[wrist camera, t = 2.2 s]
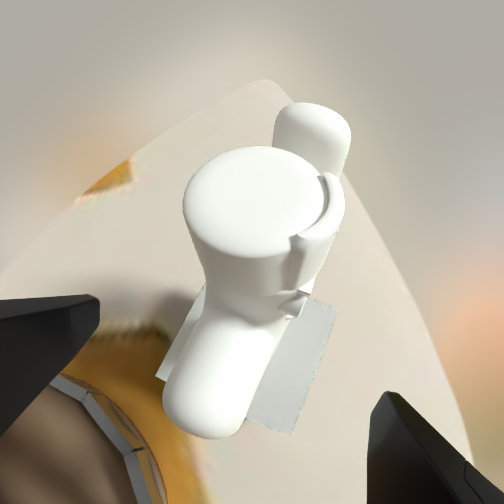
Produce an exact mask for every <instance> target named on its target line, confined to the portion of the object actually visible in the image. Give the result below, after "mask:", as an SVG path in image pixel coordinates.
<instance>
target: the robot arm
mask: <svg viewBox="0 0 504 504" xmlns="http://www.w3.org/2000/svg"><path fill="white" fill-rule="evenodd" d="M99 321H100V301H99V299H98V298H96V297H94V296H92V295H89V294H83V295H70V296H56V297H41V298H26V299H9V300H0V438H1V437H2V435H3V434H4V433H5V432H6V431H7V430H8V429H9V427H10V426H11V425H12V424H13V423H14V422H15V421H16V419H17V418H18V417H19V416H20V415H21V414H22V413H23V412H24V411H25V409H26V408H27V407H28V406H29V405H30V404H31V403H32V402H33V401H34V400H35V399H36V397H37V396H38V395H39V394H40V393H41V392H42V391H43V390H44V389H45V388H46V387H47V386H48V385H49V383H50V382H51V381H52V380H53V379H54V378H55V377H56V376H57V375H58V374H59V373H60V372H61V371H62V370H63V369H64V368H65V367H66V366H67V365H68V364H69V363H70V361H71V360H72V359H73V358H74V357H75V356H76V354H77V353H78V352H79V351H80V349H81V348H82V347H83V345H84V344H85V343H86V342H87V340H88V339H89V338H90V337H91V335H92V334H93V333H94V331H95V330H96V329H97V327H98V325H99ZM465 460H466V459H465V458H464V457H463V456H462V455H461V454H460V453H459V452H458V451H457V450H456V449H455V448H454V447H453V446H452V445H451V444H450V443H449V442H448V441H447V440H446V439H445V438H444V437H443V436H442V435H441V434H440V433H439V432H438V431H436V430H435V429H434V428H433V427H432V426H431V425H430V424H429V423H428V422H427V421H426V420H425V419H424V418H423V417H422V416H421V415H420V414H419V413H418V412H417V411H416V410H415V409H414V408H413V407H412V406H411V405H410V404H409V403H408V402H407V401H406V400H405V399H404V398H403V397H402V396H401V395H400V394H398V393H396V392H390V391H386V392H384V393H383V394H382V396H381V398H380V399H379V401H378V403H377V404H376V406H375V408H374V409H373V411H372V413H371V417H370V430H369V442H368V452H367V504H504V493H503V492H502V491H501V490H499V489H498V488H497V487H496V486H494V485H493V484H492V483H491V482H490V481H489V480H487V479H486V478H485V477H484V476H483V475H482V474H481V473H480V472H479V471H478V470H477V469H476V468H474V467H473V466H472V465H471V464H470V463H469V462H468V461H467V460H466V461H465Z"/></svg>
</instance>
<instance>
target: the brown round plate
mask: <svg viewBox="0 0 504 504" xmlns="http://www.w3.org/2000/svg"><path fill="white" fill-rule="evenodd" d="M60 374H62V375H64V376H65V377H67V378H69V379H71V380H73V381H75V382H77V383H79V384H81V385H83V386H85V387H87V388H89V389H91V390H93V391H96V392H98V393H100V394H101V395H102V396H104V397H105V399H106V400H107V401H108V402H109V404H110V405H111V406H112V408H113V409H114V410H115V411H116V413H117V414H118V415H119V416H120V417H121V419H122V420H123V421H124V422H125V424H126V425H127V426H128V427H129V428H130V429H131V431H132V432H133V433H134V434H135V435H136V436H137V437H138V439H139V440H140V441H141V442H142V443H143V444H144V445H145V447H144V448H143V449H147V451H148V455H149V458H150V461H151V465H152V468H153V471H154V475H155V478H156V481H157V484H158V487H159V490H160V493H161V496H162V499H163V501H164V504H168V501H167V493H166V488H165V485H164V481H163V477H162V474H161V472H160V469H159V466H158V464H157V461H156V459H155V457H154V455H153V453H152V451H151V449H150V447H149V446H148V444H147V443H146V441H145V439H144V438H143V436H142V435H141V433H140V432H139V430H138V429H137V428H136V427H135V425H134V424H133V423H132V421H131V420H130V419H129V418H128V417H127V416H126V415H125V413H124V412H123V411H122V410H121V409H120V408H119V407H118V406H117V405H116V404H114V403H113V402H112V401H111V400H110V399H109V398H108V397H106V396H105V395H104V394H102V393H101V392H100V391H98V390H97V389H95V388H94V387H92V386H90V385H88V384H87V383H85V382H83V381H81V380H78V379H76V378H74V377H71V376H69V375H66V374H63V373H60ZM0 504H138V501H137V498H136V496H135V493H134V490H133V487H132V483H131V480H130V477H129V474H128V470H127V467H126V464H125V460H124V456H123V454H122V453H121V452H120V451H119V450H118V449H117V447H116V446H115V445H114V444H113V443H112V441H111V440H110V439H109V438H108V436H107V435H106V434H105V433H104V431H103V430H102V429H101V428H100V426H99V425H98V424H97V422H96V421H95V420H94V418H93V417H92V416H91V414H90V413H89V412H88V410H87V409H86V408H85V406H84V405H83V403H82V402H81V401H79V400H77V399H75V398H73V397H71V396H69V395H67V394H66V393H64V392H62V391H60V390H58V389H57V388H55V387H53V386H51V385H50V384H49V385H48V386H47V387H46V388H45V389H44V390H43V391H42V392H41V393H40V394H39V395H38V396H37V397H36V399H35V400H34V401H33V402H32V403H31V404H30V405H29V406H28V407H27V408H26V409H25V411H24V412H23V413H22V414H21V415H20V416H19V417H18V418H17V419H16V421H15V422H14V423H13V424H12V425H11V426H10V427H9V429H8V430H7V431H6V432H5V433H4V434H3V435H2V437H1V438H0Z"/></svg>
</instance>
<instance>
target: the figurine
mask: <svg viewBox="0 0 504 504" xmlns="http://www.w3.org/2000/svg"><path fill="white" fill-rule="evenodd" d="M350 141H351V132H350V129H349V126H348V124H347V122H346V121H345V120H344V119H343V118H342V117H341V116H340V115H339V114H337V113H336V112H334V111H333V110H330V109H328V108H326V107H323V106H321V105H317V104H312V103H294V104H290V105H288V106H286V107H284V108H283V109H282V110H281V111H280V112H279V114H278V116H277V118H276V121H275V125H274V133H273V142H272V147H265V146H251V147H243V148H238V149H234V150H230V151H227V152H225V153H223V154H220V155H218V156H216V157H215V158H213V159H211V160H209V161H208V162H207V163H206V164H204V165H203V166H202V167H201V168H200V169H199V170H198V171H197V172H196V173H195V174H194V175H193V177H192V178H191V180H190V181H189V183H188V185H187V187H186V190H185V192H184V197H183V214H184V218H185V221H186V224H187V227H188V230H189V233H190V235H191V238H192V241H193V243H194V246H195V249H196V251H197V254H198V257H199V259H200V262H201V264H202V266H203V269H204V273H205V278H206V282H205V284H204V286H203V287H202V289H201V291H200V293H199V295H198V297H197V298H196V300H195V302H194V304H193V306H192V308H191V309H190V311H189V313H188V315H187V317H186V319H185V321H184V322H183V324H182V326H181V328H180V330H179V332H178V334H177V335H176V337H175V339H174V341H173V343H172V345H171V347H170V349H169V350H168V352H167V354H166V356H165V358H164V360H163V362H162V364H161V366H160V368H159V369H158V371H157V373H156V375H155V376H156V377H158V378H160V379H162V380H164V381H165V382H166V384H165V387H164V390H163V395H162V404H163V408H164V411H165V413H166V415H167V416H168V418H169V419H170V420H171V421H172V422H173V423H174V424H175V425H177V426H178V427H179V428H181V429H182V430H184V431H186V432H188V433H190V434H192V435H195V436H197V437H201V438H205V439H212V440H214V439H223V438H227V437H229V436H231V435H232V434H234V433H235V432H236V431H237V430H238V429H239V427H240V426H241V424H242V423H243V421H244V419H247V420H249V421H252V422H254V423H257V424H259V425H262V426H264V427H267V428H270V429H272V430H275V431H278V432H281V433H283V434H286V435H289V436H290V435H291V432H292V430H293V428H294V425H295V423H296V421H297V418H298V416H299V414H300V411H301V409H302V406H303V404H304V402H305V399H306V397H307V394H308V392H309V389H310V386H311V384H312V381H313V379H314V376H315V373H316V371H317V368H318V365H319V363H320V360H321V357H322V355H323V352H324V349H325V346H326V343H327V340H328V338H329V335H330V332H331V329H332V326H333V323H334V320H335V317H336V314H337V311H338V309H337V308H334V307H332V306H329V305H327V304H324V303H321V302H319V301H316V300H314V299H311V298H308V297H309V295H310V293H311V290H312V287H313V283H314V280H315V276H316V274H317V273H318V272H319V270H320V269H321V267H322V265H323V263H324V261H325V259H326V257H327V254H328V252H329V249H330V247H331V244H332V242H333V239H334V237H335V234H337V231H338V228H339V226H340V222H341V220H342V218H343V214H344V209H345V204H344V195H343V189H342V186H341V184H340V183H339V178H340V175H341V172H342V169H343V166H344V163H345V160H346V157H347V154H348V151H349V147H350Z"/></svg>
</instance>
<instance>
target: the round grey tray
mask: <svg viewBox="0 0 504 504" xmlns="http://www.w3.org/2000/svg"><path fill="white" fill-rule="evenodd" d="M49 384H50V385H51V386H53V387H55V388H57V389H58V390H60V391H62V392H64V393H66V394H67V395H69V396H71V397H73V398H75V399H77V400H79V401H81V402H82V403H83V405H84V406H85V408H86V409H87V410H88V412H89V413H90V414H91V416H92V417H93V418H94V420H95V421H96V422H97V424H98V425H99V426H100V428H101V429H102V430H103V431H104V433H105V434H106V435H107V436H108V438H109V439H110V440H111V441H112V443H113V444H114V445H115V446H116V447H117V449H118V450H119V451H120V452H121V453H122V454H123V456H124V460H125V464H126V467H127V470H128V474H129V477H130V480H131V483H132V487H133V490H134V493H135V496H136V498H137V501H138V504H164V501H163V499H162V496H161V493H160V490H159V487H158V484H157V481H156V478H155V475H154V471H153V468H152V465H151V461H150V458H149V455H148V451H147V449H143V448H144V447H145V445H144V444H143V443H142V442H141V441H140V440H139V439H138V437H137V436H136V435H135V434H134V433H133V432H132V431H131V429H130V428H129V427H128V426H127V425H126V424H125V422H124V421H123V420H122V419H121V417H120V416H119V415H118V414H117V413H116V411H115V410H114V409H113V408H112V406H111V405H110V404H109V402H108V401H107V400H106V399H105V397H104V396H102V395H101V394H100V393H98V392H96V391H93V390H91V389H89V388H87V387H85V386H83V385H81V384H79V383H77V382H75V381H73V380H71V379H69V378H67V377H65V376H64V375H62V374H60V373H59V374H58V375H57V376H56V377H55V378H54V379H53V380H52V381H51V382H50V383H49Z"/></svg>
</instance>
